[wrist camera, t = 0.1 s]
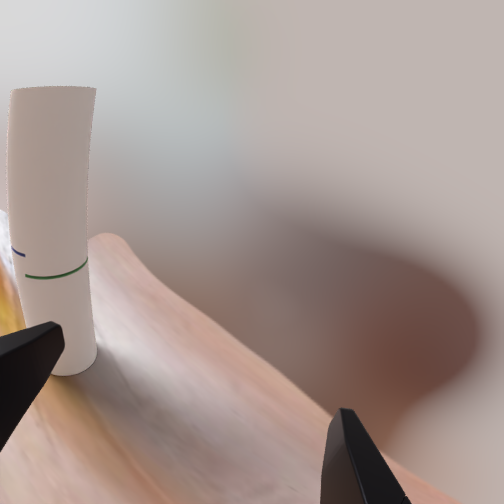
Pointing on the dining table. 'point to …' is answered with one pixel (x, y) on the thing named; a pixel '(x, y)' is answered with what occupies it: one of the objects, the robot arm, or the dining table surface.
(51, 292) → the cylindrical container
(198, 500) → the dining table surface
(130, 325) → the dining table surface
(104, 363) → the dining table surface
